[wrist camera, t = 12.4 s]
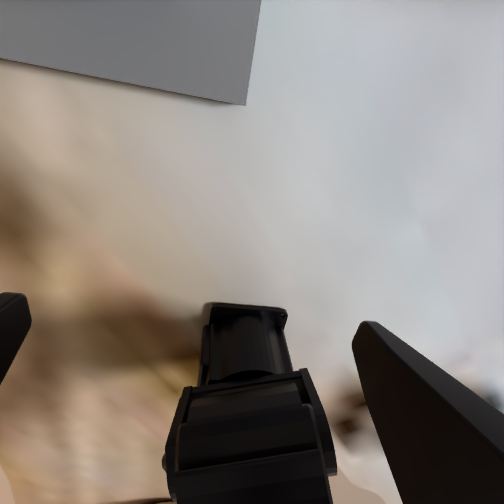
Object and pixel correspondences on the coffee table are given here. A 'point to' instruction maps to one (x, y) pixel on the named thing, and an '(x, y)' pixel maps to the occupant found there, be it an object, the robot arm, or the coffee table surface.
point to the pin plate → (139, 41)
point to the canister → (167, 503)
